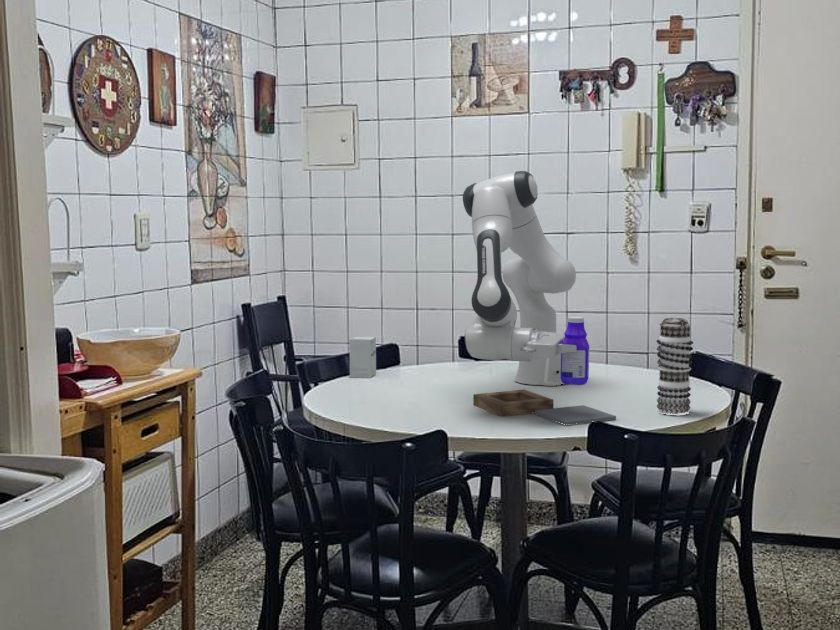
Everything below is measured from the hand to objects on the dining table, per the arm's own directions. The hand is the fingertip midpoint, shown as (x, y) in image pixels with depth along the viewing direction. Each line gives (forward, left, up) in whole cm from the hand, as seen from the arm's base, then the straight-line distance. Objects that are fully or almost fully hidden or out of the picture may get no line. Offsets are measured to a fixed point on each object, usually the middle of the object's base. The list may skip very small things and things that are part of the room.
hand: (578, 346), depth 243 cm
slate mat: (+1, -1, -18) cm, 19 cm away
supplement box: (+30, -83, -19) cm, 90 cm away
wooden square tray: (+10, -18, -19) cm, 27 cm away
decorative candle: (-25, +6, -19) cm, 32 cm away
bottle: (+1, -1, -10) cm, 10 cm away
